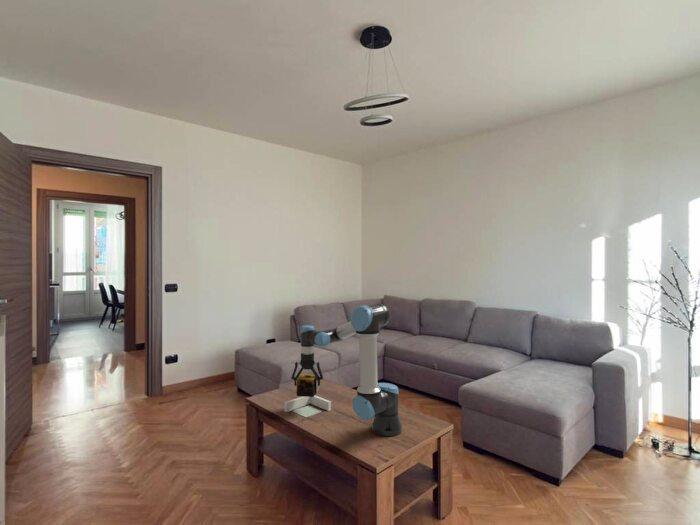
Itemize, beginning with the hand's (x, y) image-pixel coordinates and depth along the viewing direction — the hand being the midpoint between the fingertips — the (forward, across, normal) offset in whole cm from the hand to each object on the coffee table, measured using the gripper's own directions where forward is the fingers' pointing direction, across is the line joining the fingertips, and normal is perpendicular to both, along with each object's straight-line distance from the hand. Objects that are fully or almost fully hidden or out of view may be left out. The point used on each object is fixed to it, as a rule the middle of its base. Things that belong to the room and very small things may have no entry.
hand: (307, 391), depth 218 cm
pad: (+12, 0, 0) cm, 12 cm away
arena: (+12, -1, -1) cm, 12 cm away
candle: (+2, 0, 0) cm, 2 cm away
